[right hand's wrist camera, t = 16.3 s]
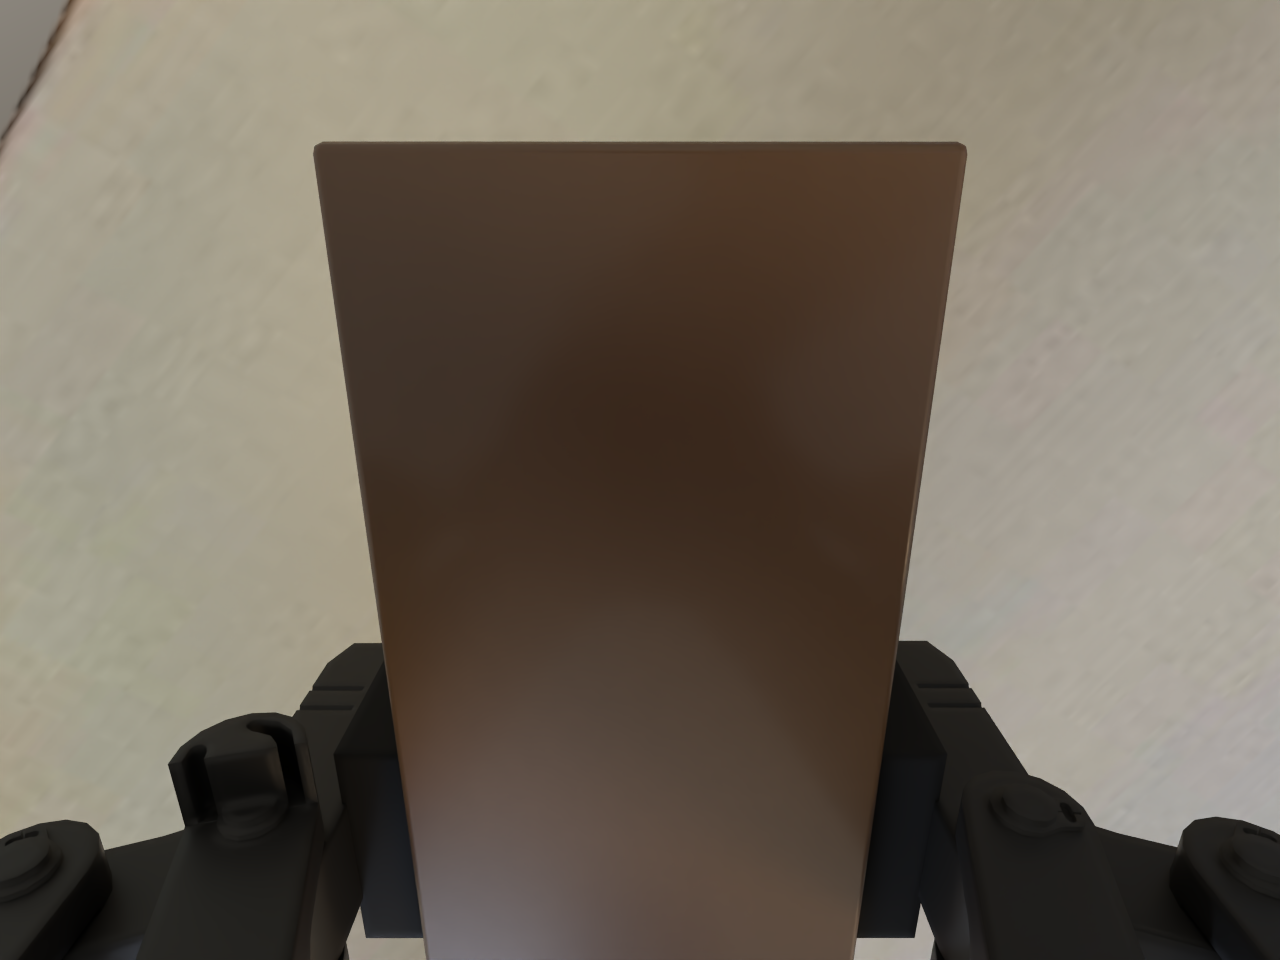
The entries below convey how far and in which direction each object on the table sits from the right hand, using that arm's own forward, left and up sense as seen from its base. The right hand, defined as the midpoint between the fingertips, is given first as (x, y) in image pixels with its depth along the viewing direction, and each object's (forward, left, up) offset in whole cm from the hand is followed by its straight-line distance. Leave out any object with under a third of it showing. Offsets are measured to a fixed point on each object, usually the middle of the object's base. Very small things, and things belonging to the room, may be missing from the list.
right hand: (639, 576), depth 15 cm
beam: (+13, +14, -1) cm, 19 cm away
